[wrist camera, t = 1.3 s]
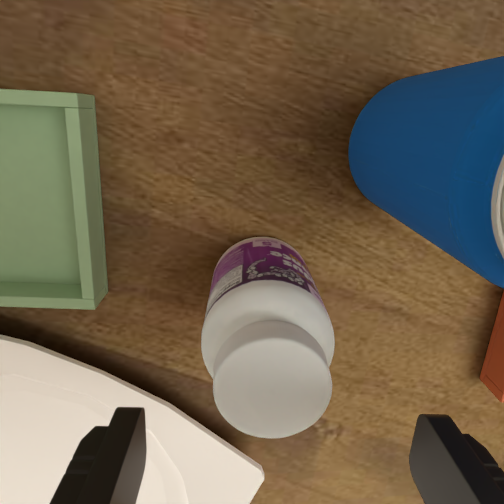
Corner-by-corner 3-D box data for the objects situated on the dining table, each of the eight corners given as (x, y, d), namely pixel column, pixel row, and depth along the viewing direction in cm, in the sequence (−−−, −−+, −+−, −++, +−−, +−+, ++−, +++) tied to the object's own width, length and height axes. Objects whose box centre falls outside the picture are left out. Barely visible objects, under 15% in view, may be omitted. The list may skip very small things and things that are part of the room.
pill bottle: (327, 265, 22) (389, 371, 13) (274, 337, 24) (295, 478, 14) (245, 214, 21) (249, 290, 12) (194, 292, 22) (162, 414, 13)
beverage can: (430, 227, 22) (641, 353, 10) (322, 181, 21) (423, 264, 9) (498, 109, 20) (846, 104, 8) (382, 53, 19) (600, -40, 7)
